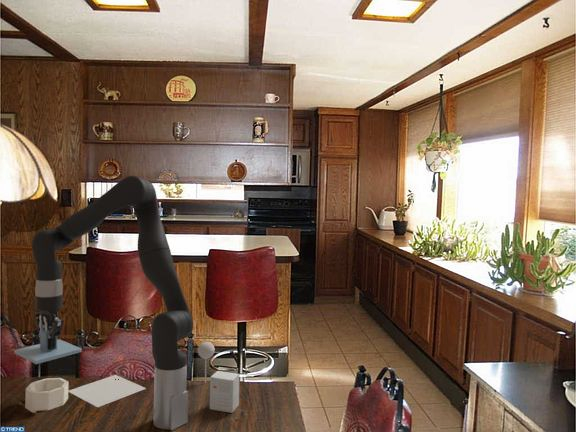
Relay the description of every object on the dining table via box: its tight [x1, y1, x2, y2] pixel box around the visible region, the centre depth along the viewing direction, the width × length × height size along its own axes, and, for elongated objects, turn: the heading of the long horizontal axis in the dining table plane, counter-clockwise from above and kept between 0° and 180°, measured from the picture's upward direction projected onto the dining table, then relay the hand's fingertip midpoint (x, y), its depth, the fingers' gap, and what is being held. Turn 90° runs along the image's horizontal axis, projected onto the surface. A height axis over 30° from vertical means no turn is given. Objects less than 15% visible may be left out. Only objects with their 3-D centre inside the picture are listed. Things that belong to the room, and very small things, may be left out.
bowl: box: [24, 377, 69, 414], centre depth 141 cm, size 11×11×6 cm
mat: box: [68, 374, 147, 408], centre depth 151 cm, size 18×18×1 cm
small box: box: [209, 370, 240, 414], centre depth 143 cm, size 8×6×10 cm
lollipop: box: [197, 341, 216, 384], centre depth 161 cm, size 6×6×15 cm
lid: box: [13, 330, 83, 365], centre depth 140 cm, size 14×14×7 cm
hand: (48, 347), depth 140 cm, fingers closed on lid, 3 cm apart
